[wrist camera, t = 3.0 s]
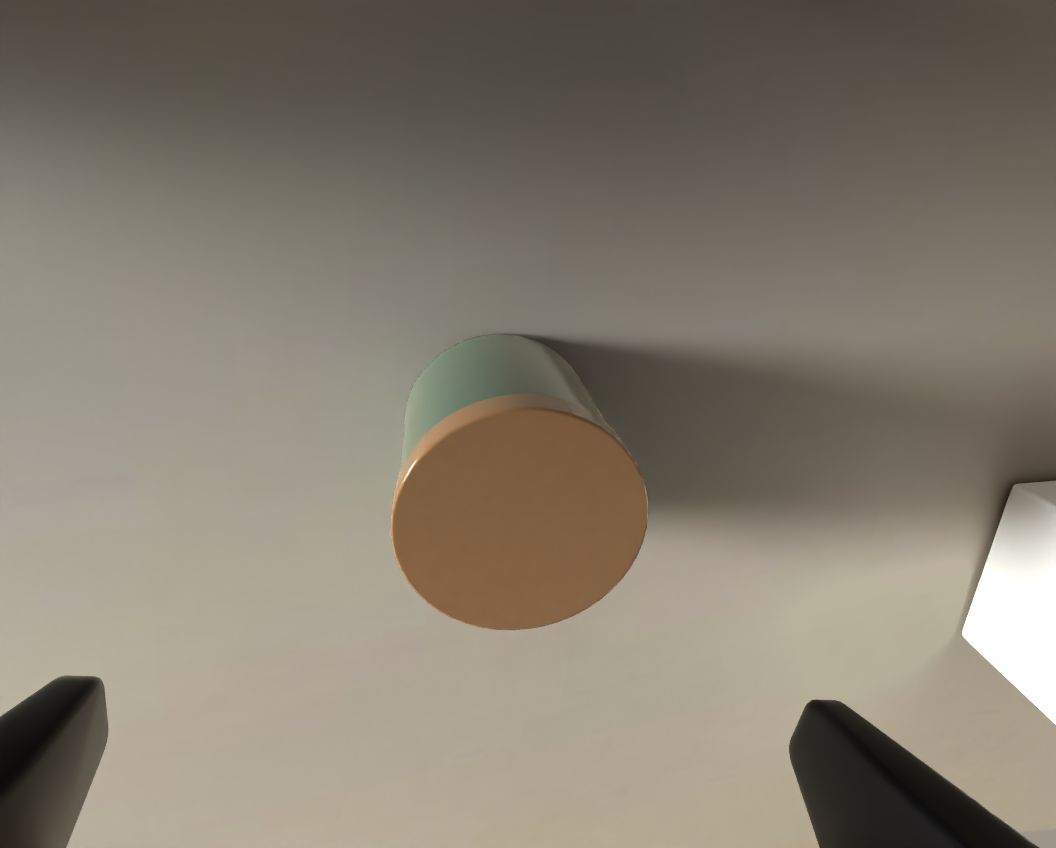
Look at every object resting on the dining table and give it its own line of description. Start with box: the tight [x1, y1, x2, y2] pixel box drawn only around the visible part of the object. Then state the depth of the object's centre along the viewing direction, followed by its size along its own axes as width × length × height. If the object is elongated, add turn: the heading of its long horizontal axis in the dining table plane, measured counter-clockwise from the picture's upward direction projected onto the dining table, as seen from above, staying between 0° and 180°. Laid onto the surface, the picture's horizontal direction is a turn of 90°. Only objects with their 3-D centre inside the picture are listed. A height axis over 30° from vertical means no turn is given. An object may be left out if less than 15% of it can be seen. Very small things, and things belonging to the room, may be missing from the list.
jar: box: [390, 334, 648, 630], centre depth 17 cm, size 6×6×6 cm
